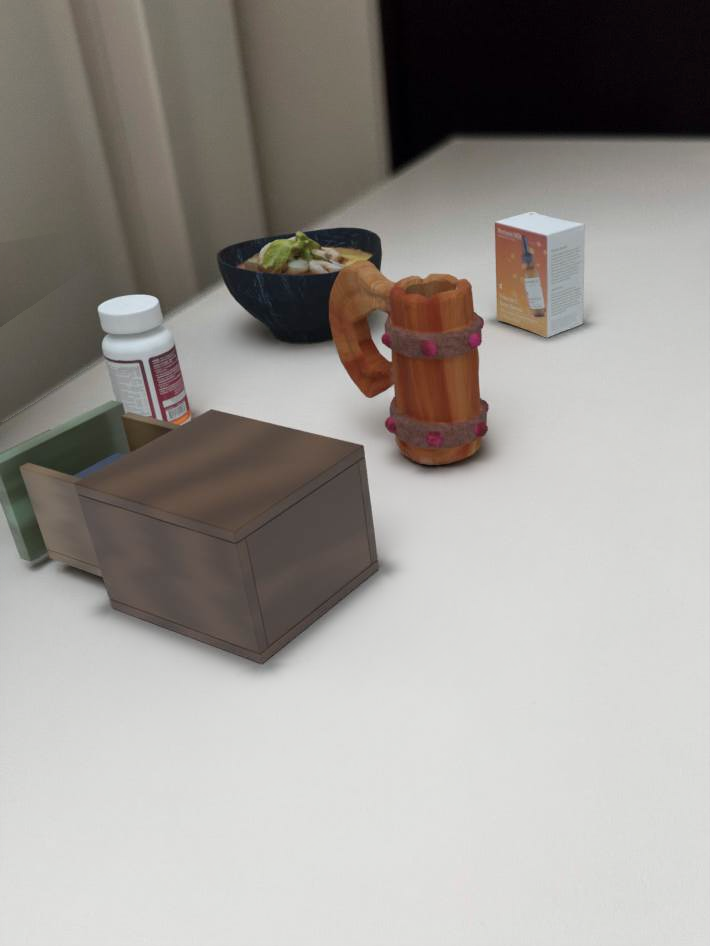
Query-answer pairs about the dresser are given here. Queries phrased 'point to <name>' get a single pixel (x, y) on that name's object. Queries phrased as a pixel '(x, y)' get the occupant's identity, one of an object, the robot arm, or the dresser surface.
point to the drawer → (65, 480)
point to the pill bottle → (143, 359)
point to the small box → (540, 273)
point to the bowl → (294, 277)
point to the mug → (415, 357)
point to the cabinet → (232, 530)
